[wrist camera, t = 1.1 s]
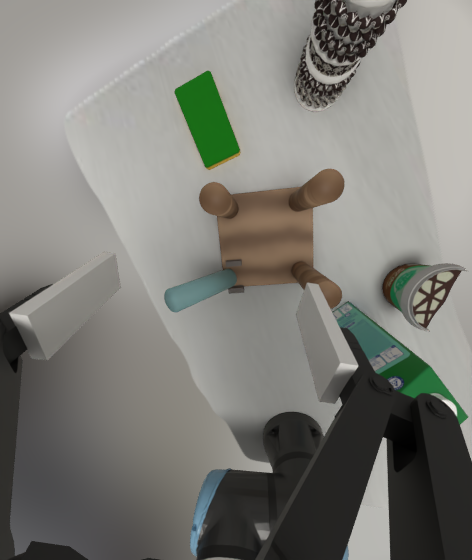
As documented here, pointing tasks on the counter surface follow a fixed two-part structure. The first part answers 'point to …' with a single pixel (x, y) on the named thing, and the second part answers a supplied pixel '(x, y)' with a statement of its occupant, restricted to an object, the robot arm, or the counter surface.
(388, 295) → the food container
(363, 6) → the decorative candle
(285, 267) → the walnut stool
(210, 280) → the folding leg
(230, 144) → the dish sponge
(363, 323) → the milk carton
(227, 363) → the counter surface
